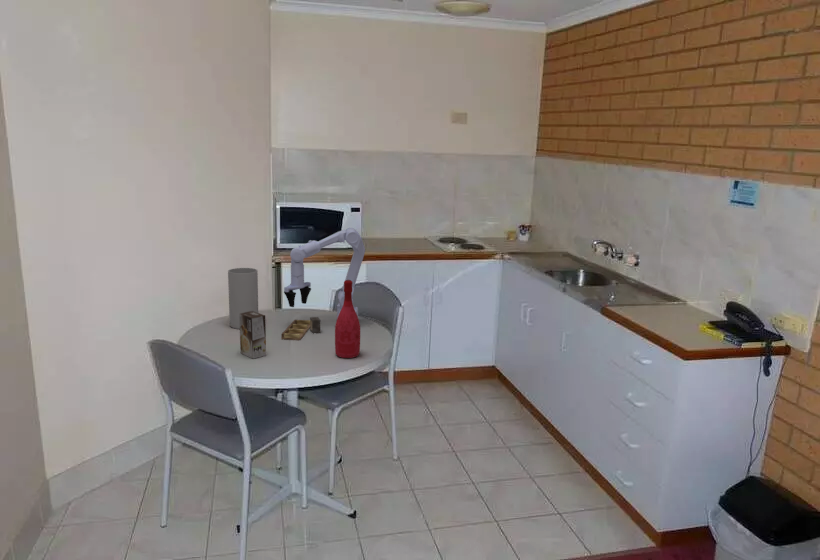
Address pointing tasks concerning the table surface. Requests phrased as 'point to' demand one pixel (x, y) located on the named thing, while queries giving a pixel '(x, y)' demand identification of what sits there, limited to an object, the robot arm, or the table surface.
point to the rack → (296, 330)
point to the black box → (314, 325)
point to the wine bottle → (347, 327)
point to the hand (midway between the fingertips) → (297, 305)
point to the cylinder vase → (242, 293)
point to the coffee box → (252, 334)
